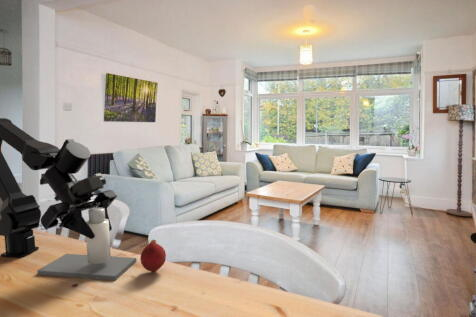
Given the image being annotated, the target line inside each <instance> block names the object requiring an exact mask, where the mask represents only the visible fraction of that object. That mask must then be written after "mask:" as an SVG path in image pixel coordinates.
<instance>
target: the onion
mask: <svg viewBox="0 0 476 317" xmlns="http://www.w3.org/2000/svg"><path fill="white" fill-rule="evenodd" d="M166 259H167V253H166V250H165V249H164V247H163V246H162V245H160V244H159V243H157V240H156V239H154V238H153V239H151V240H150V242H149V244H147V245H145V247H143V249H142V252H141V254H140V260H139V261H140V263H141V265H142V267H143V269H145V270H146V271H148V272H151V273H156V272H158V270H160V269H161V268H162V267H163V265H165V262H166Z"/></svg>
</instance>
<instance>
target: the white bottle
mask: <svg viewBox="0 0 476 317" xmlns="http://www.w3.org/2000/svg"><path fill="white" fill-rule="evenodd" d="M87 210H88V220H87V221H86V223H87V224H88V226H89V227H90V228H91V230H92V231H93V233H94V235H95V237H94V238H93V239H90V238H88V237H86V236H85V239H86V242H85V243H86V255H87V261H88V263H91V264H99V263H103V262H106V261H108V260H109V259H110V258H111V239H110V231H109V220H110V219H109V220H108V219H105V208H92V209H87Z"/></svg>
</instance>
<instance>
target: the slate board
mask: <svg viewBox="0 0 476 317" xmlns="http://www.w3.org/2000/svg"><path fill="white" fill-rule="evenodd" d="M110 256H111V255H110ZM135 263H137V257H126V256H111V258H110V259H109V260H108V261H106V262H103V263H99V264H91V263H88V261H87V254H81V253H80V254H79V253H65V254H63V255H62V256H60V257H58V258H56V259H54V260H53V261H51V262H49V263H48V264H45V265H44V266H42V267H41V268H38V269H37V271H36V272H37V273H36V274H37V276H38V275H40V276H41V275H42V276H50V277H51V276H53V277H54V276H55V277H67V278H80V279H81V278H82V279H96V280H105V281H107V280H108V281H116V280H118V279H119V278H120V277H121V276H122V275H123V274H124V273H125V272H127V271H128V270H129V269H130V268H131V267H132V266H133V265H134V264H135Z"/></svg>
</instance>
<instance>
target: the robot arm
mask: <svg viewBox="0 0 476 317" xmlns="http://www.w3.org/2000/svg"><path fill="white" fill-rule="evenodd" d="M3 142H5V143H6V144H8V145H9V146H10V147H12V149H14V150H15V151H17V152H19V153H20V154H21V160H22V161H23V163H24V164H25V165H26V166H27V167H28V168H29V169H30V170H33V171H41V170H46V171H45V172H44V173H41V175H40V180H39V185H40V186H42V185H48V186H49V187H50V189H51V190H52V191H53V192H54V194H55V197H54V198H53V199H54V201H55V202H58V203H55V204H50V205H49V206H48V208H47V209H46V210H45V212H44V213H43V214H42V211H41V208H40V207H41V206H40V205H39V204H38V202H37V200H36V197H35V195H32V194H30V195H26V194H25V193H23V192H22V189H21V187H20V186H19V183H18V181H17V179H16V177H15V176H14V173H13V172H12V170H11V167H10V166H9V163H8V162H7V160H6V158H5V156H4V154H3V152H2V150H1V148H2V145H3ZM91 153H92V152H91V151H90V149H89V148H88V147H87V146H85V145H84V144H82V143H80V142H77V141H75V140H74V139H73V138H70V139H68V138H67V139H65V140H64V142H63V143H62V146H61V148H59V147H58V146H55V145H53V144H51V143H49V142H44V141H40V140H37V139H36V138H34V137H32V136H31V135H30V134H28V133H27V132H25V131H24V130H23V129H21V128H20V127H18V126H17V125H16V124H14V123H13V122H12V120H10V119H9V118H6V117H0V200H1V202H2V203H1V206H0V217H1V218H0V236H1V237H2V236H3V237H4V247H5V251H4V252H3V253H0V256H1V257H6V258H8V257H10V258H23V257H25V256H27V255H29V254H31V253H33V252H35V251H37V250H39V249H40V247H39V246H36V238H35V235H34V229H37V228H39V227H40V225H42V227H43V229H45V230H49V229H52V228H54V227H57V226H58V227H59V228H63V229H64V228H65V229H67V230H70V231H73V232H75V233H77V234H79V235H82V236H84V237H85V238H86V237H88V238H90V239H93V238H94V237H95V235H94V233H93V231H92V230H91V228H90V227H89V226H88V224H87V223H86V222H87V221H86V220H85V218H84V216H83V213H82V212H83V211H87V210H89V209H92V208H105V219H108V220H109V232H111V231H112V230H113V229H112V228H113V227H112V225H111V221H110V217H109V213H108V208H109V207H110V205H112V203H113V202H114V201H115V200H116V198H117V197H118V195H117V194H116V192H115V191H114V190H111V189H109V190H104V191H100V192H99V193H98V194H97V195H96V193H95V192H96V191H98V190H100V189H104V185H106V183H107V180H106V177H105V176H104V175H103V174H101V173H100V172H99V173H95V174H94V175H92V176H89V177H85V178H83V179H79V180H78V179H77V178H76V177H75V175H74V174H77V173H79V172H80V170H81V169H82V168H83V167H84V165H85V163H86V162H87V161H88V160H89V158H90V157H91ZM95 195H96V196H95ZM94 196H95V198H93V197H94ZM92 198H93V199H92ZM59 201H60V202H59ZM59 221H60V224H59ZM58 224H59V225H58Z"/></svg>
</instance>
